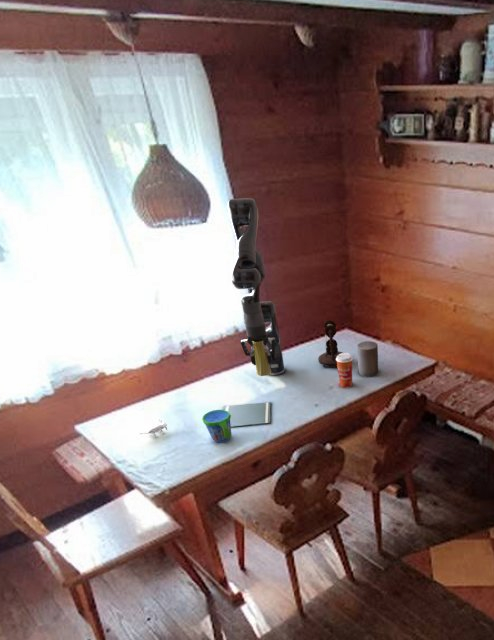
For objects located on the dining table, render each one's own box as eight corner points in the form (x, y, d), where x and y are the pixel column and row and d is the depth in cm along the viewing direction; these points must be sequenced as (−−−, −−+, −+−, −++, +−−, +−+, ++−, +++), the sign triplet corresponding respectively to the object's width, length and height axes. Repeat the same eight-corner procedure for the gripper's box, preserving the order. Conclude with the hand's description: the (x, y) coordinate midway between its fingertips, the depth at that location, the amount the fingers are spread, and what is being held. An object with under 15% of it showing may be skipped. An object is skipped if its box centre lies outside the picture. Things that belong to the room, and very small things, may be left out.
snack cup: (203, 433, 208) (196, 411, 201) (228, 426, 212) (222, 404, 205) (215, 451, 198) (208, 428, 191) (241, 443, 202) (235, 420, 195)
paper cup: (335, 387, 236) (332, 358, 227) (342, 380, 242) (340, 351, 233) (350, 389, 234) (348, 360, 225) (357, 382, 239) (355, 354, 230)
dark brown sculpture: (318, 357, 262) (314, 318, 249) (347, 355, 263) (344, 316, 250) (318, 369, 251) (314, 329, 238) (348, 367, 252) (345, 327, 239)
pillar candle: (382, 370, 248) (381, 340, 239) (371, 378, 242) (370, 348, 232) (365, 366, 253) (364, 336, 243) (354, 374, 246) (352, 343, 237)
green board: (224, 407, 224) (224, 406, 224) (270, 403, 226) (270, 402, 226) (221, 428, 211) (221, 427, 210) (270, 423, 213) (269, 422, 212)
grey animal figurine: (165, 427, 212) (161, 417, 209) (172, 431, 209) (169, 421, 206) (139, 439, 205) (135, 429, 202) (146, 444, 202) (142, 434, 199)
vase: (253, 374, 213) (247, 340, 203) (263, 368, 217) (256, 335, 207) (265, 377, 210) (258, 343, 201) (274, 371, 214) (268, 338, 205)
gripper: (273, 318, 203) (279, 359, 214) (236, 320, 202) (245, 361, 213) (272, 325, 198) (279, 366, 209) (235, 327, 196) (244, 369, 207)
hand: (262, 363), depth 211 cm, fingers closed on vase, 5 cm apart
